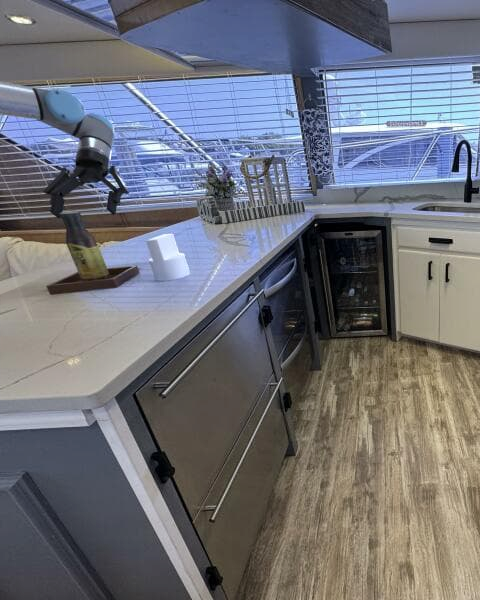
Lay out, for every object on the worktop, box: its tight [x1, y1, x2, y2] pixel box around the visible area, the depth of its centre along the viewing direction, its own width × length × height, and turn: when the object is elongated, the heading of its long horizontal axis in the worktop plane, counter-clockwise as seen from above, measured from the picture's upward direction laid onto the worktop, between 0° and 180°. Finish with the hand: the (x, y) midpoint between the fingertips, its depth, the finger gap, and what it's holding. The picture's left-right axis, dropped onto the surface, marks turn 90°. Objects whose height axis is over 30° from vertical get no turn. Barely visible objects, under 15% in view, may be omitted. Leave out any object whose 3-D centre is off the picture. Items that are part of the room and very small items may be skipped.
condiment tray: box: [46, 265, 141, 296], centre depth 94 cm, size 16×14×2 cm
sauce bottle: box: [60, 210, 110, 282], centre depth 90 cm, size 6×6×20 cm
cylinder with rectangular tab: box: [145, 233, 191, 282], centre depth 95 cm, size 9×9×12 cm
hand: (83, 213), depth 92 cm, fingers open, 13 cm apart
